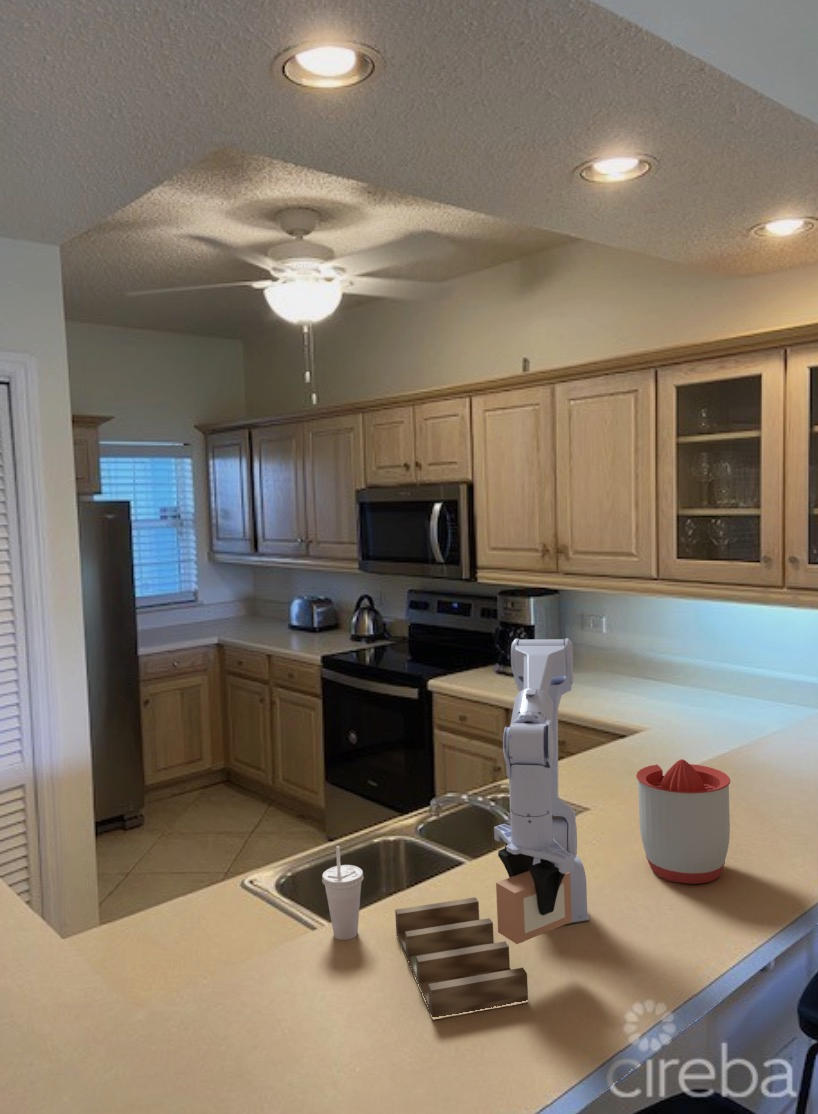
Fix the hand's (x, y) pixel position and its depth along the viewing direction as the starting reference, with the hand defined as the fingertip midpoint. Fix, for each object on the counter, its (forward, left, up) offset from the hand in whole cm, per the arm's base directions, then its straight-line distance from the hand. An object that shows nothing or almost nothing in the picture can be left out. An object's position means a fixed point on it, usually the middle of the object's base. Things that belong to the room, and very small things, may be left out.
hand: (534, 905), depth 114 cm
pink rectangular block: (0, 0, -3) cm, 3 cm away
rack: (+10, -5, -10) cm, 15 cm away
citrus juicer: (-37, -23, -10) cm, 45 cm away
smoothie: (+24, -19, -10) cm, 33 cm away
